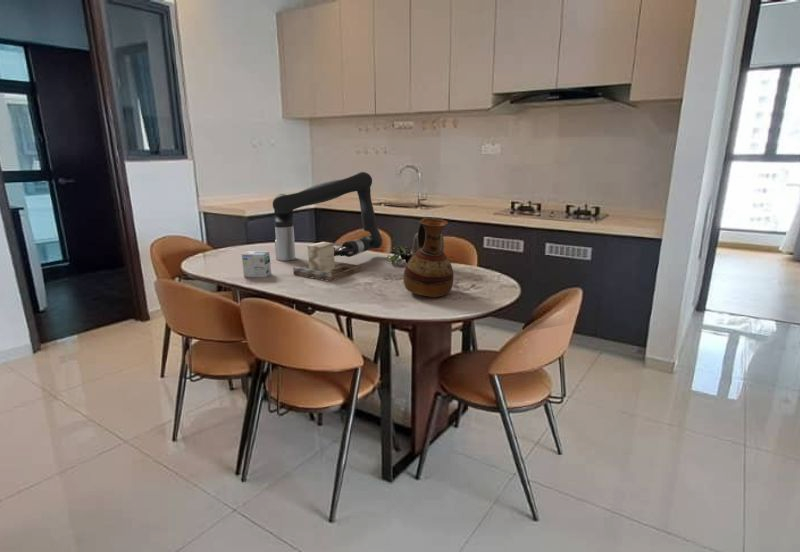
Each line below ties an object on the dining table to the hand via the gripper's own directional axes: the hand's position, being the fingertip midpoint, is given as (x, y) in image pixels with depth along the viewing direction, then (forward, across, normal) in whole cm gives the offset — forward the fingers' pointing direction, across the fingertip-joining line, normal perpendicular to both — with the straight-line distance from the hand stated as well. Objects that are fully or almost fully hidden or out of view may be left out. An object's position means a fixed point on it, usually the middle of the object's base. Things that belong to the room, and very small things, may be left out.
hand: (330, 254), depth 217 cm
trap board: (+2, 0, +8) cm, 8 cm away
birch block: (+6, 0, +6) cm, 9 cm away
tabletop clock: (-25, +38, +8) cm, 46 cm away
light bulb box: (+23, -24, +8) cm, 34 cm away
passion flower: (-27, +22, +8) cm, 36 cm away
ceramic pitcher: (+6, +55, +8) cm, 56 cm away
